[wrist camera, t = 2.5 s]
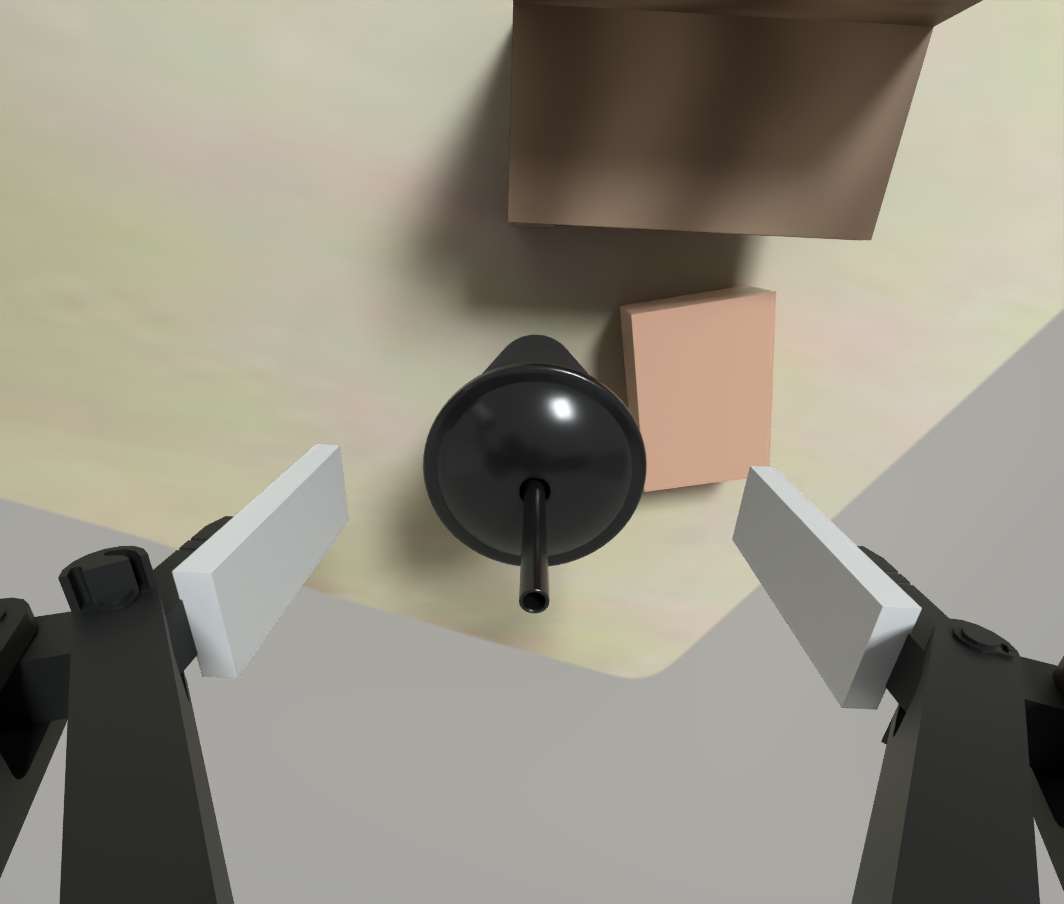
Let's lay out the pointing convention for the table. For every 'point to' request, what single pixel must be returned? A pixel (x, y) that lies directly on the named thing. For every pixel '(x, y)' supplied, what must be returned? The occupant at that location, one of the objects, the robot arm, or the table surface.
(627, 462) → the drinking cup
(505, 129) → the table surface
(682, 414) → the pink rectangular block
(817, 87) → the desk shelf
